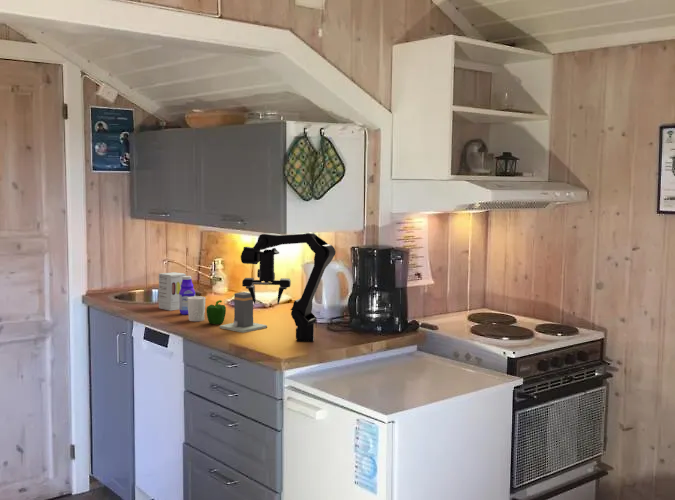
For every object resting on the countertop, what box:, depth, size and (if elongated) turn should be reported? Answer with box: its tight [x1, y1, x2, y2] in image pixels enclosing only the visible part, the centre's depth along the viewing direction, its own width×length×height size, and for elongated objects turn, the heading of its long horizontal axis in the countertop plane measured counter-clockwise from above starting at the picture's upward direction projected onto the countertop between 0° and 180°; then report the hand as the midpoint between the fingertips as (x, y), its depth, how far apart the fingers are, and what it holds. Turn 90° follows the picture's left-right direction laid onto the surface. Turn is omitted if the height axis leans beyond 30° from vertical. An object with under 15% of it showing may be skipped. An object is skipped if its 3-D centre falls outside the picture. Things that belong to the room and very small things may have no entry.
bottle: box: [178, 275, 196, 315], centre depth 339 cm, size 7×6×17 cm
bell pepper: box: [206, 299, 227, 325], centre depth 319 cm, size 8×8×10 cm
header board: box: [219, 320, 268, 334], centre depth 311 cm, size 14×14×4 cm
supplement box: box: [158, 271, 187, 312], centre depth 353 cm, size 10×9×17 cm
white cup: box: [187, 295, 206, 322], centre depth 326 cm, size 8×8×10 cm
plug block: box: [233, 291, 254, 327], centre depth 311 cm, size 6×6×14 cm
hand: (266, 304), depth 295 cm, fingers open, 9 cm apart
